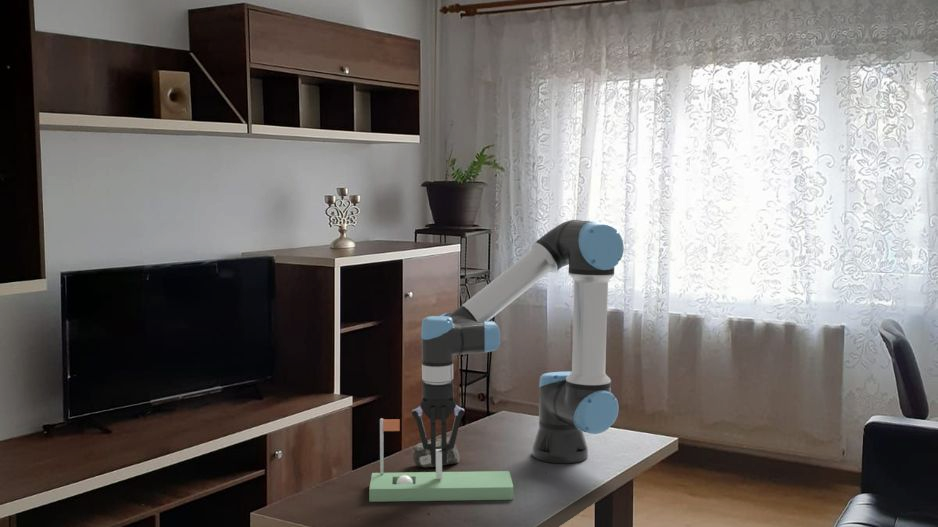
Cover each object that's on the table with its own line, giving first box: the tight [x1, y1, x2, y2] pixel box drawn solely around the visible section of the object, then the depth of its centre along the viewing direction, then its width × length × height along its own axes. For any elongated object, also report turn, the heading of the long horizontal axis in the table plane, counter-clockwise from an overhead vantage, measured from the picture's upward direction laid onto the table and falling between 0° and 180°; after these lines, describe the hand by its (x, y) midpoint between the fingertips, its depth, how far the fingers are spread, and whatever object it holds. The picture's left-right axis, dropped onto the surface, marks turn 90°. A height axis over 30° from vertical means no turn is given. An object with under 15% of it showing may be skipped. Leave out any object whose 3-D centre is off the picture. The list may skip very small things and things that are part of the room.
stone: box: [411, 436, 460, 468], centre depth 246 cm, size 14×7×10 cm, turn 124°
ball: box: [396, 475, 413, 484], centre depth 224 cm, size 4×4×4 cm
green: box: [368, 418, 515, 503], centre depth 224 cm, size 34×12×17 cm, turn 93°
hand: (439, 476), depth 225 cm, fingers closed
